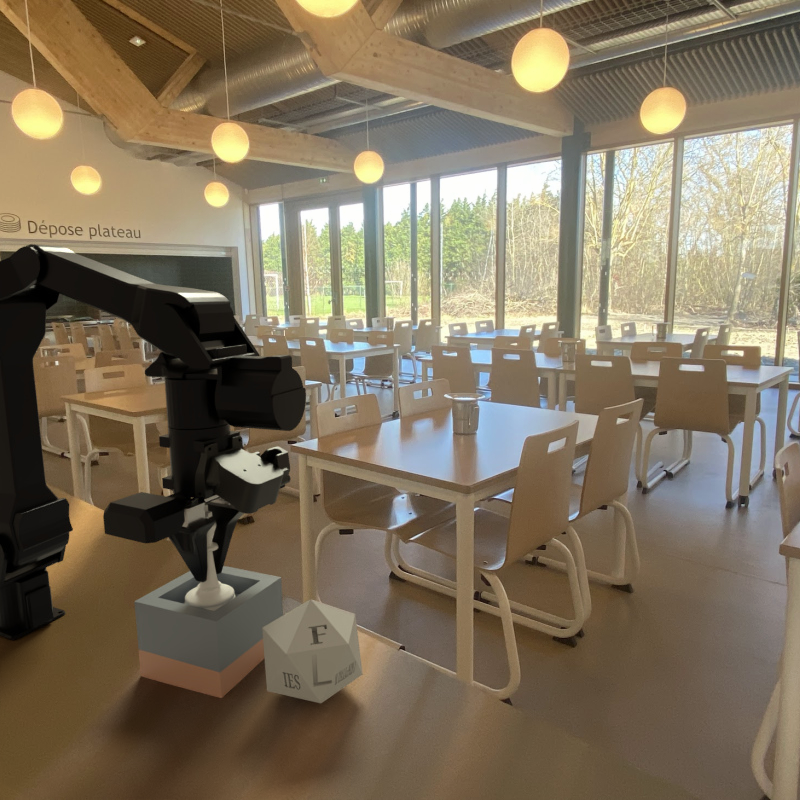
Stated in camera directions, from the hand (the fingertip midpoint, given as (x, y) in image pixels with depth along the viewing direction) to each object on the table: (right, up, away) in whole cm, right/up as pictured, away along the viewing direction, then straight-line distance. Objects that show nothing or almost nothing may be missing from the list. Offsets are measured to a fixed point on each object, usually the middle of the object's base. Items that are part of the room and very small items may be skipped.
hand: (208, 577), depth 64 cm
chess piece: (0, -3, 0) cm, 3 cm away
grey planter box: (0, -9, +1) cm, 9 cm away
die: (+11, -10, -5) cm, 16 cm away
